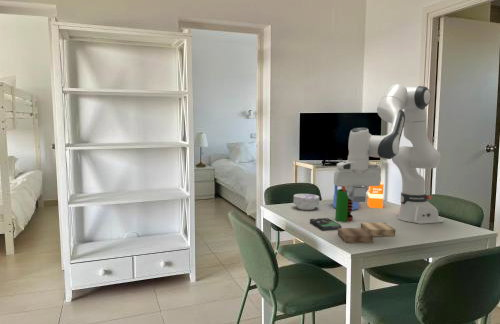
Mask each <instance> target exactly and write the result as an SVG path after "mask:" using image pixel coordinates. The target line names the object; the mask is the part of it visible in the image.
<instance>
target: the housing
mask: <svg viewBox="0 0 500 324" xmlns="http://www.w3.org/2000/svg"><path fill="white" fill-rule="evenodd" d="M348 189H349V191H350V192H352V196H348V198H349V199H350V200H352V201H353V202H359V203H365V202H366V197H367V192H366V188H364V186H350V188H348Z"/></svg>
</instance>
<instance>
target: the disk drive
mask: <svg viewBox="0 0 500 324" xmlns="http://www.w3.org/2000/svg"><path fill="white" fill-rule="evenodd" d="M309 224H310V225H312V226H314V227H315V228H317V229H319V230H321V231H322V232H327V231H338V228H343V227H342V225H341V224H340V223H338V222H336V221H334V220H333V219H330V218H328V217H322V218H321V217H318V218H310V219H309Z"/></svg>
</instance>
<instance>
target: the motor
mask: <svg viewBox="0 0 500 324" xmlns="http://www.w3.org/2000/svg"><path fill="white" fill-rule="evenodd" d="M338 187H340V188H339V189H338V188H337V197H336V208H335V218H334V219H335V220H336V221H338V222H342V223H347V222H353V219H354V218H353V215H352V214H351V213H352V212H353V210H352V208H353V206H351V205H353V203H351V202H353V201H352V200H350V199H349V198H348V196H347V190H346V189H345V186H338ZM341 187H342V188H343V189H341Z"/></svg>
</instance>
